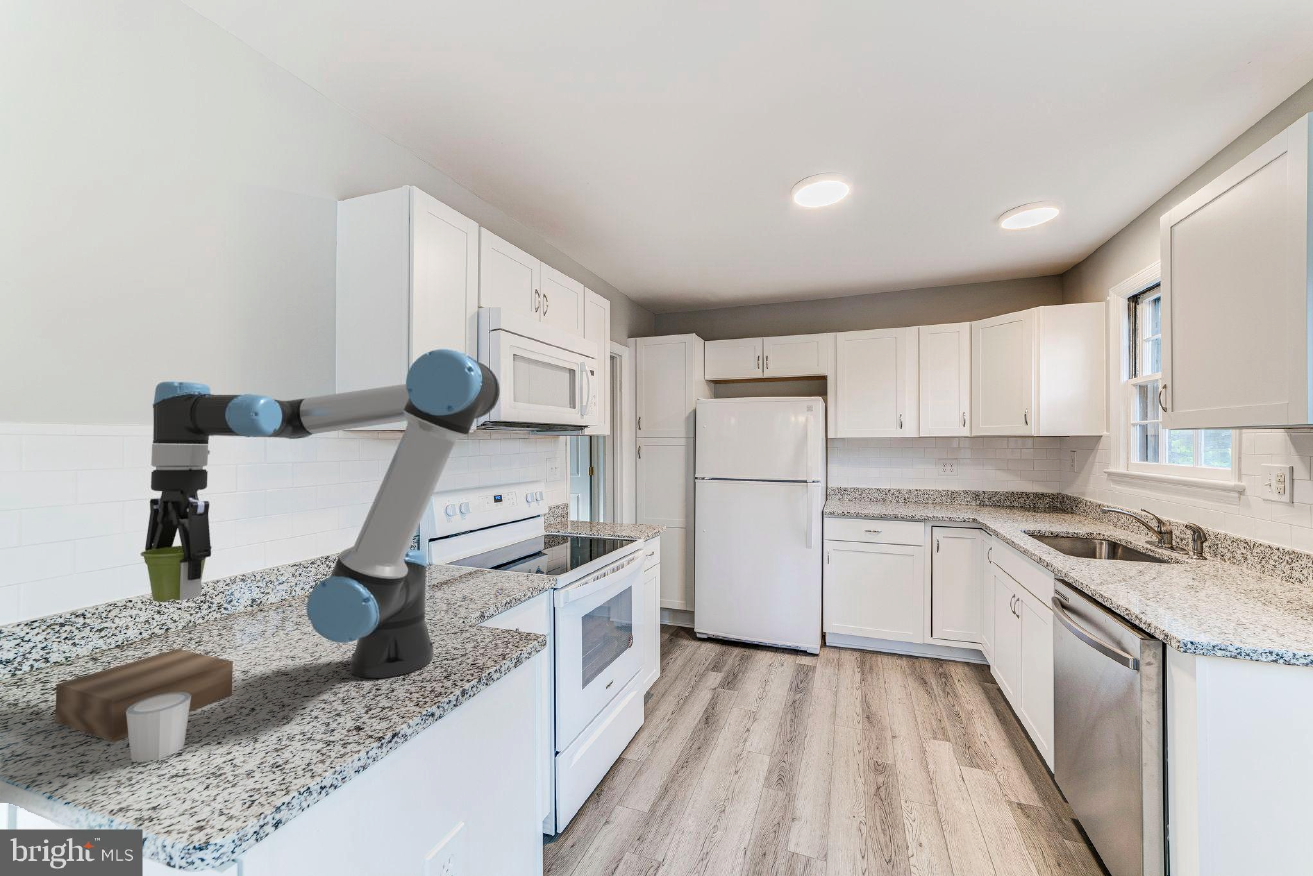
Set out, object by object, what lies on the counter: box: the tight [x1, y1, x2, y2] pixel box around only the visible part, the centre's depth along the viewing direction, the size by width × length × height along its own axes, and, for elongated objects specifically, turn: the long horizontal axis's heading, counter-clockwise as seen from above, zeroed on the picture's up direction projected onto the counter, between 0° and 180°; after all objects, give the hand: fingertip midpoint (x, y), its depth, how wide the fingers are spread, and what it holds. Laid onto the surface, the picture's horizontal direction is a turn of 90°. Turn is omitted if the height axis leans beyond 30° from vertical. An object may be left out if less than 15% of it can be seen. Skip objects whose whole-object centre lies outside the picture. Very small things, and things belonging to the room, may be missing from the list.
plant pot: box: [140, 545, 213, 603], centre depth 94 cm, size 9×9×9 cm
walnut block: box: [54, 648, 234, 743], centre depth 89 cm, size 16×16×6 cm
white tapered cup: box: [126, 692, 191, 763], centre depth 76 cm, size 7×7×7 cm
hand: (175, 594), depth 94 cm, fingers closed on plant pot, 8 cm apart
